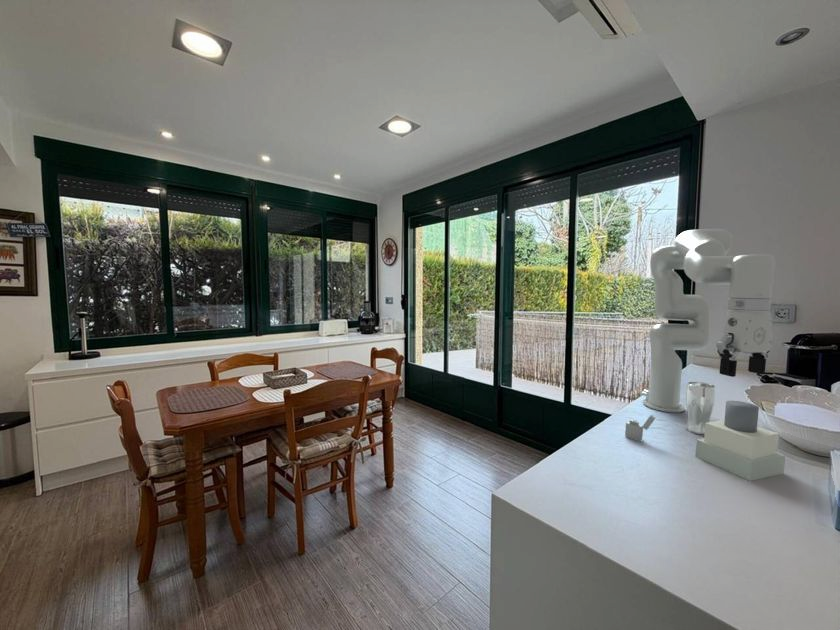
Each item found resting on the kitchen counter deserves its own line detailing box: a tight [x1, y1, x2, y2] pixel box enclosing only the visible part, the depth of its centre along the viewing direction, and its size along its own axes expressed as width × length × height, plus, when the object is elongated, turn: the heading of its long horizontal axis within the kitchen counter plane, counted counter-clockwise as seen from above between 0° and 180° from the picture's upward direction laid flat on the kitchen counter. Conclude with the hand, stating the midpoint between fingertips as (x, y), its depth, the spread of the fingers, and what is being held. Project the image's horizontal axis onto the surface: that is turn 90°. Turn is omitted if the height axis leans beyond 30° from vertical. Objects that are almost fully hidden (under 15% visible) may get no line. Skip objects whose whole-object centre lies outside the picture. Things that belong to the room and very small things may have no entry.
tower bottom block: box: [695, 438, 786, 482], centre depth 86 cm, size 12×12×5 cm
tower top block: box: [703, 418, 780, 460], centre depth 86 cm, size 10×10×5 cm
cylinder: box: [724, 400, 760, 433], centre depth 86 cm, size 6×6×6 cm
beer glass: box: [685, 381, 716, 436], centre depth 106 cm, size 7×7×15 cm
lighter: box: [624, 415, 657, 442], centre depth 100 cm, size 7×2×8 cm, turn 45°
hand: (741, 374), depth 85 cm, fingers open, 9 cm apart
